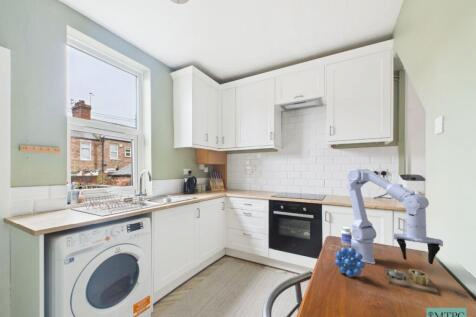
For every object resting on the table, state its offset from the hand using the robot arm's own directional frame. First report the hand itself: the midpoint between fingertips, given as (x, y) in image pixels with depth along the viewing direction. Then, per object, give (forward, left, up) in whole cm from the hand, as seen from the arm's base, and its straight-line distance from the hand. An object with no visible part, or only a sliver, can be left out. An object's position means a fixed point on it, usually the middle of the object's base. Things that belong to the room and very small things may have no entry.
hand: (417, 260), depth 78 cm
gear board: (-3, 0, -8) cm, 9 cm away
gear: (0, 0, -7) cm, 7 cm away
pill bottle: (-25, +32, -9) cm, 41 cm away
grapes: (-23, -7, -9) cm, 26 cm away
